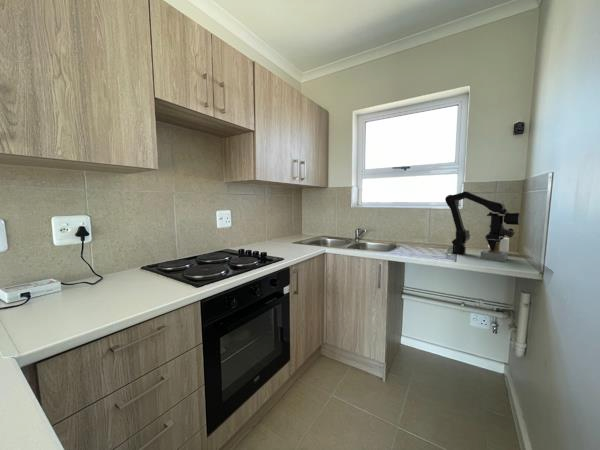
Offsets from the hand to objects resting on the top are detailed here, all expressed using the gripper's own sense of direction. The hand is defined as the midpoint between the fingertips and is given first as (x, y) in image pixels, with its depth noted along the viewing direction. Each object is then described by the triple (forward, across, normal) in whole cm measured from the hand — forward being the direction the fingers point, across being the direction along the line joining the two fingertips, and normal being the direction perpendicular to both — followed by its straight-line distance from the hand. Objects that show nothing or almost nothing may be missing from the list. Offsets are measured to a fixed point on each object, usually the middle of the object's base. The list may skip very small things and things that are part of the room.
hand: (494, 249), depth 147 cm
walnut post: (+6, 0, 0) cm, 6 cm away
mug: (+6, +19, +2) cm, 20 cm away
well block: (+5, 0, 0) cm, 5 cm away
